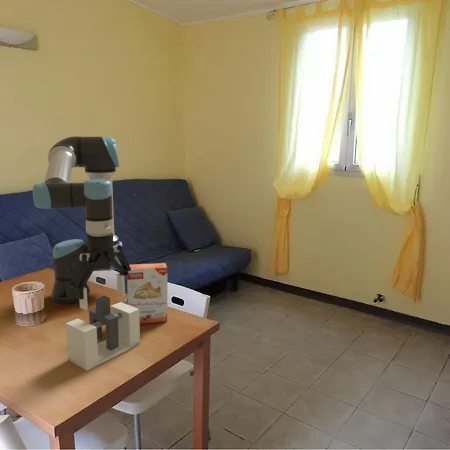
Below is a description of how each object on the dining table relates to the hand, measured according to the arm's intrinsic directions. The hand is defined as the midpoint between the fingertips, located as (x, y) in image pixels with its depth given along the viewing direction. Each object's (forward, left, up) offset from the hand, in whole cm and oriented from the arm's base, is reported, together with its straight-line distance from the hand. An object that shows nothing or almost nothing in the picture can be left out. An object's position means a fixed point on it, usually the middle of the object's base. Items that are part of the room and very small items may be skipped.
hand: (103, 301), depth 125 cm
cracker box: (-12, +21, -17) cm, 29 cm away
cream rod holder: (0, 0, -17) cm, 17 cm away
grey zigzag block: (0, 0, -14) cm, 14 cm away
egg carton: (-24, +23, -17) cm, 38 cm away
